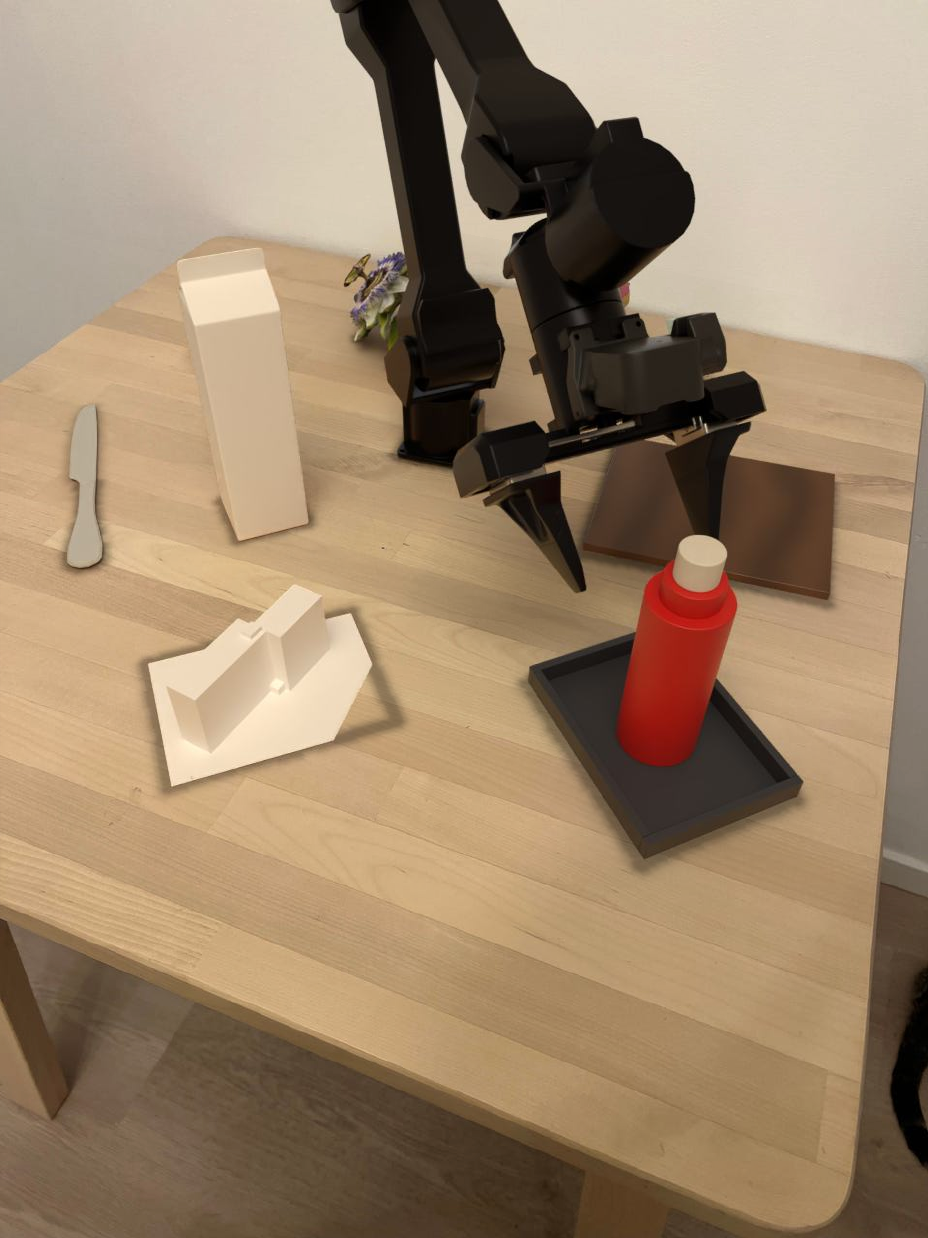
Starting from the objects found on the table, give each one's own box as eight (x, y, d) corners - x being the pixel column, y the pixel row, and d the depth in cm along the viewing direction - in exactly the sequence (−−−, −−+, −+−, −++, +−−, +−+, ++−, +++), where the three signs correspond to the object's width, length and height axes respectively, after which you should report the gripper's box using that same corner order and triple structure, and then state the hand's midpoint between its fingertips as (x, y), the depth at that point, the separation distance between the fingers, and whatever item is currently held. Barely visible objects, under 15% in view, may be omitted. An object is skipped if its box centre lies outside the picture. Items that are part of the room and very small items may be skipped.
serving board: (581, 554, 75) (583, 542, 74) (618, 446, 86) (619, 435, 85) (825, 604, 71) (830, 593, 70) (831, 484, 82) (835, 473, 81)
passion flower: (368, 384, 103) (340, 273, 101) (464, 361, 103) (438, 249, 101) (360, 376, 92) (329, 251, 90) (467, 350, 92) (438, 225, 90)
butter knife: (61, 567, 72) (101, 561, 73) (72, 404, 89) (105, 400, 89) (63, 571, 72) (102, 565, 73) (74, 408, 89) (106, 404, 89)
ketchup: (609, 755, 60) (647, 570, 49) (623, 697, 64) (661, 511, 52) (690, 776, 59) (747, 591, 48) (700, 715, 63) (756, 529, 51)
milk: (309, 524, 77) (277, 265, 62) (237, 542, 75) (185, 280, 60) (289, 483, 81) (253, 229, 66) (219, 499, 79) (166, 242, 64)
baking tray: (527, 685, 65) (529, 665, 64) (664, 640, 68) (668, 620, 67) (642, 863, 55) (647, 845, 54) (795, 800, 58) (804, 781, 57)
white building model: (172, 789, 58) (151, 732, 54) (145, 664, 66) (126, 605, 62) (399, 721, 62) (395, 663, 58) (350, 611, 70) (344, 553, 66)
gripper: (476, 296, 45) (564, 605, 46) (788, 237, 51) (863, 513, 51) (419, 367, 56) (491, 617, 57) (682, 311, 61) (745, 539, 62)
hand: (647, 571), depth 56 cm, fingers open, 9 cm apart
